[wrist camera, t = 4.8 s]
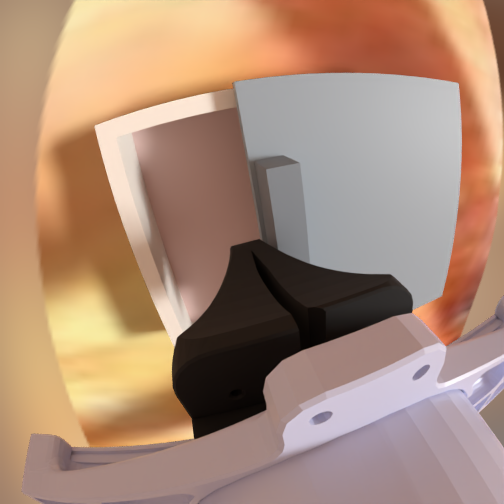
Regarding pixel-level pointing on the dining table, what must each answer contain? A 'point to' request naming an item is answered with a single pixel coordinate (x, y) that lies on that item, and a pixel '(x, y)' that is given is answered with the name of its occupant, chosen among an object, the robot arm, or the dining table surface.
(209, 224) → the box
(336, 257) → the lid
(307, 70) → the dining table surface
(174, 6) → the dining table surface
